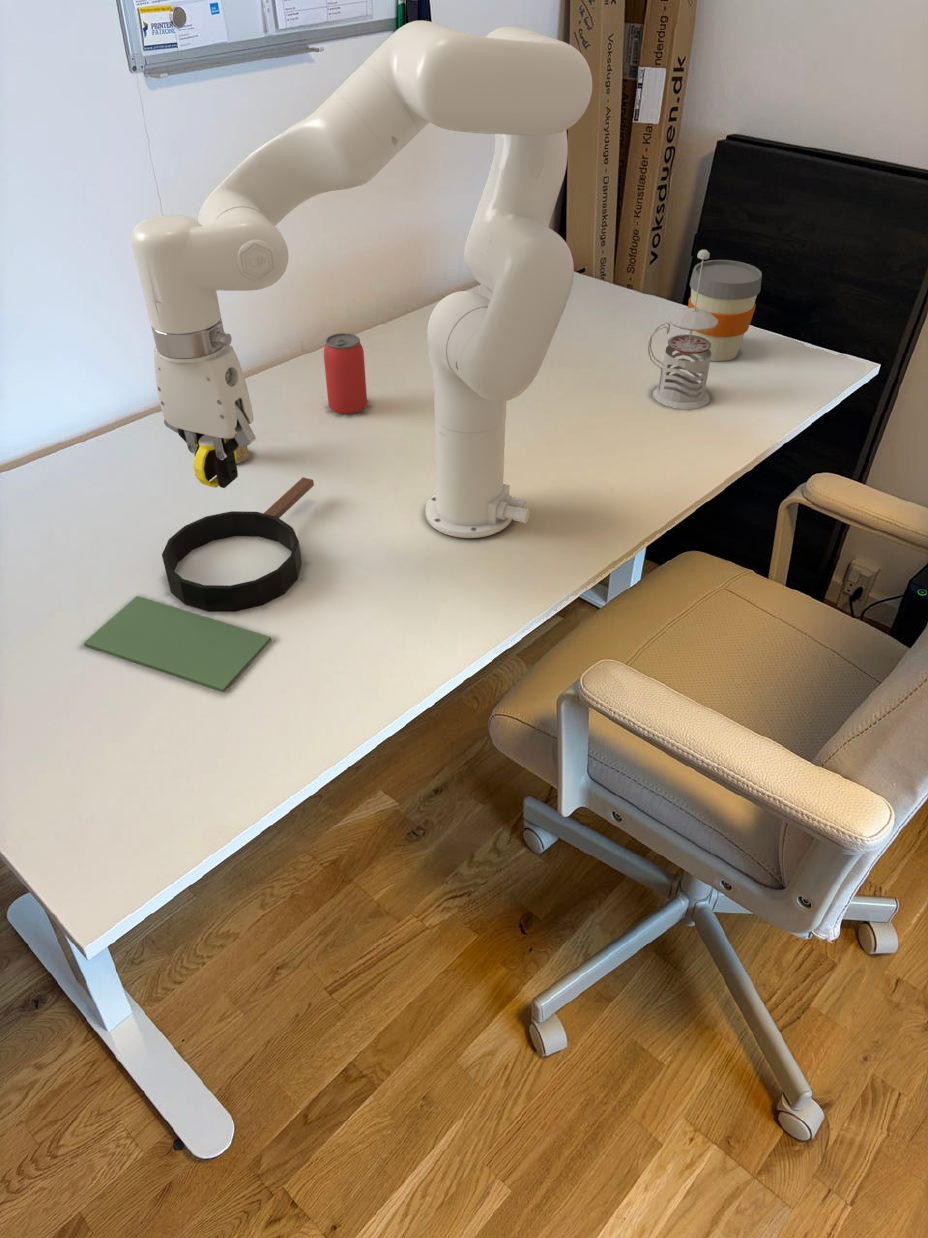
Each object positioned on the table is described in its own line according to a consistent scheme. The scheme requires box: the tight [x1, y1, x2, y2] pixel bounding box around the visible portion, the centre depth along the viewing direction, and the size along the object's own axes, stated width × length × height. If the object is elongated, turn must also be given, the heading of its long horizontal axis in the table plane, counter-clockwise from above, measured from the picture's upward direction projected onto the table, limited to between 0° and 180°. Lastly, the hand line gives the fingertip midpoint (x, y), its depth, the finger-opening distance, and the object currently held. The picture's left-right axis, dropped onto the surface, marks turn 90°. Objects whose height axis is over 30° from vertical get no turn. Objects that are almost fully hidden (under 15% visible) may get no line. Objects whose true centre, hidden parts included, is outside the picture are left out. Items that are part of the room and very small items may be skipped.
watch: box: [193, 435, 236, 489], centre depth 115 cm, size 6×3×6 cm, turn 149°
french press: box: [647, 249, 718, 410], centre depth 158 cm, size 10×12×25 cm
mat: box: [83, 595, 272, 693], centre depth 115 cm, size 20×10×1 cm, turn 66°
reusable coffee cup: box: [687, 259, 763, 362], centre depth 176 cm, size 13×13×15 cm
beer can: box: [323, 332, 368, 416], centre depth 159 cm, size 7×7×12 cm
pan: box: [161, 477, 315, 613], centre depth 129 cm, size 28×17×4 cm, turn 156°
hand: (219, 478), depth 117 cm, fingers closed on watch, 2 cm apart
